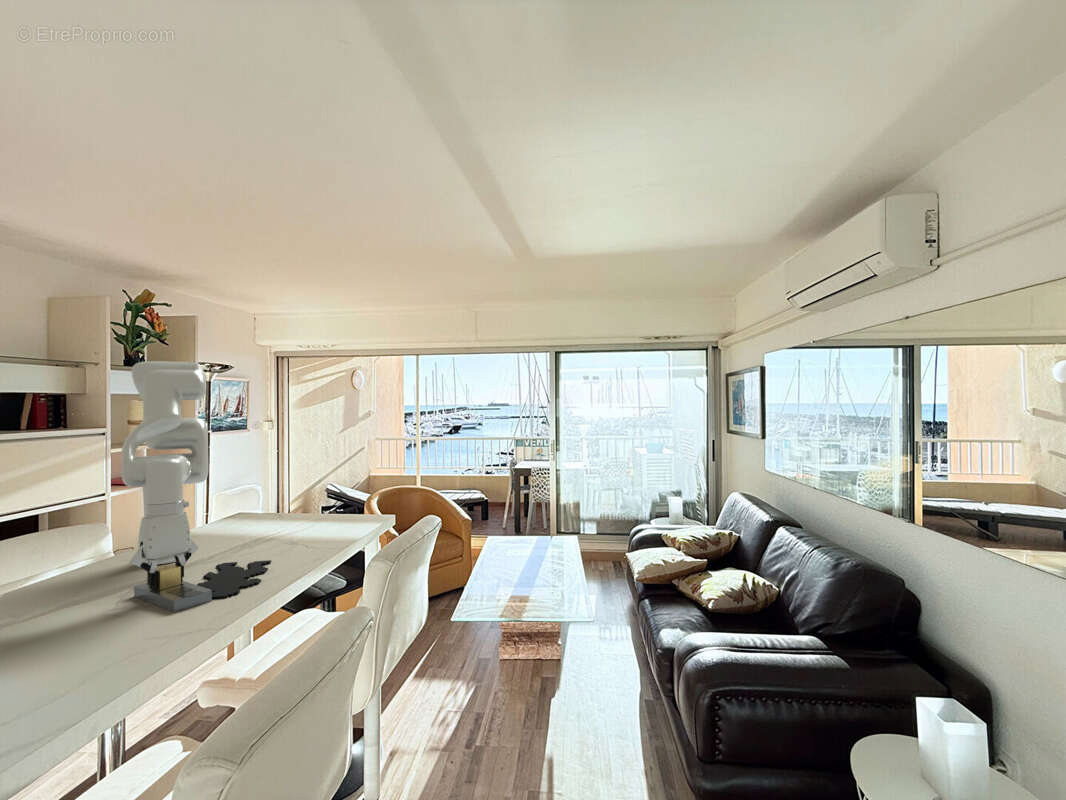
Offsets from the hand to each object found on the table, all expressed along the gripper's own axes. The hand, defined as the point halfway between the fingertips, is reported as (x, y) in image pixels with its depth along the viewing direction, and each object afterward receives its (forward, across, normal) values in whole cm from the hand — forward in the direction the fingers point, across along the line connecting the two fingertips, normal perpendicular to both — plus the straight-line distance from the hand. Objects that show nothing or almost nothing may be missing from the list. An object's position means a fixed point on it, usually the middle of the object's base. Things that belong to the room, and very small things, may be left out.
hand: (166, 584), depth 131 cm
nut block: (+3, 0, 0) cm, 3 cm away
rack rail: (+3, 0, +3) cm, 4 cm away
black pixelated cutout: (+3, -15, +2) cm, 16 cm away
